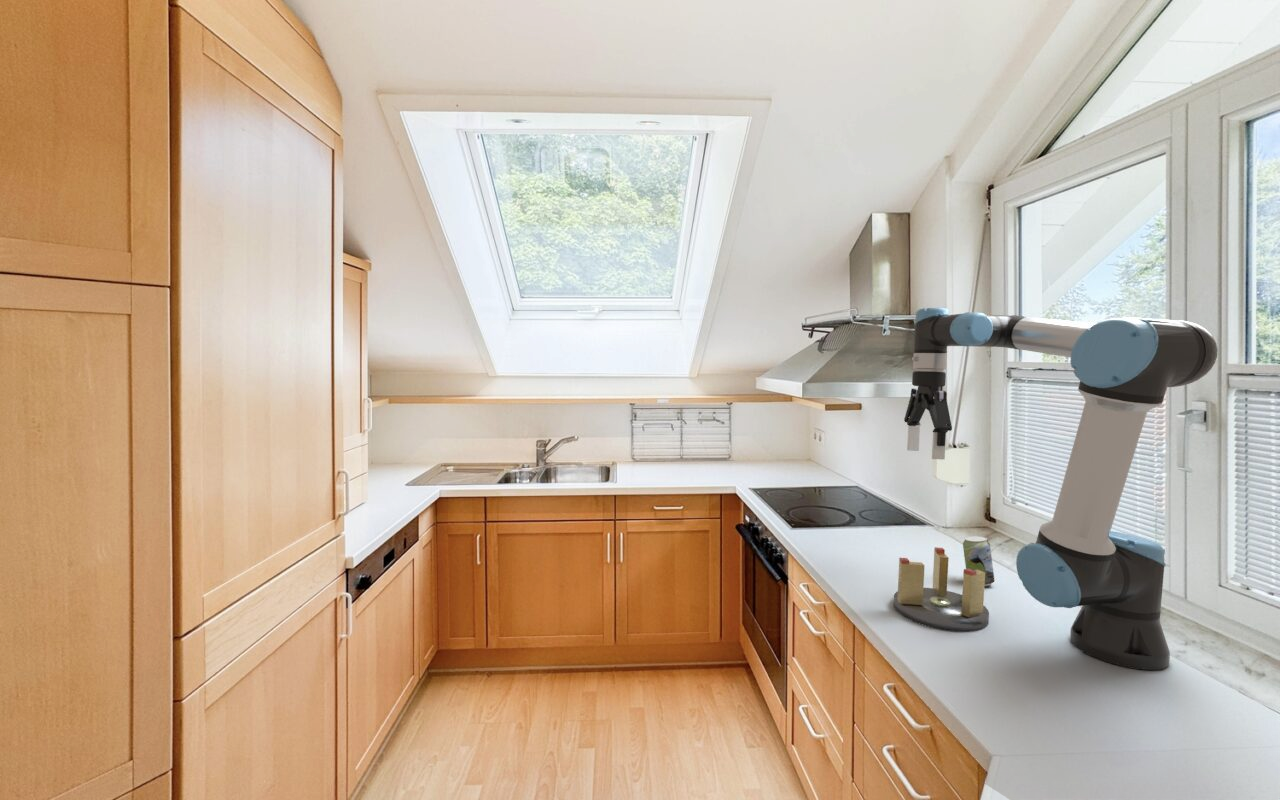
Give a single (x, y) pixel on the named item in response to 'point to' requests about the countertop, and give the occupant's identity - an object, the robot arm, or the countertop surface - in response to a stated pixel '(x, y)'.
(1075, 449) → the robot arm
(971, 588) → the knob
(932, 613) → the tribrach plate
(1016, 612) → the countertop surface
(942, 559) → the knob
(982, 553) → the beverage can
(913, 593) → the knob
